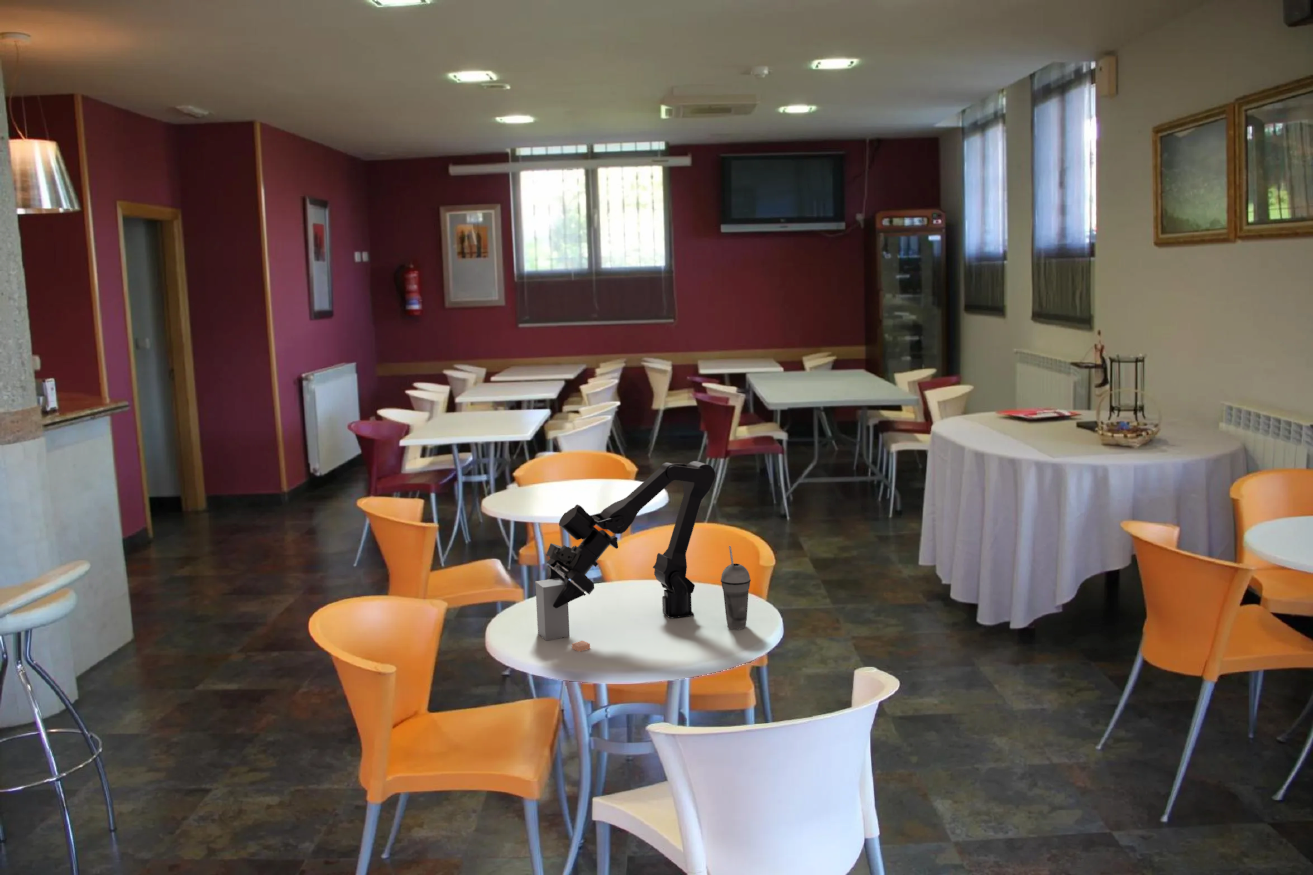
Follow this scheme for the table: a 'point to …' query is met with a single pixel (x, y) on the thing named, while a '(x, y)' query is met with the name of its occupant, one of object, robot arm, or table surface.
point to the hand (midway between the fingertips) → (548, 602)
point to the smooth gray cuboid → (551, 610)
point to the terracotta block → (580, 645)
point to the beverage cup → (735, 594)
